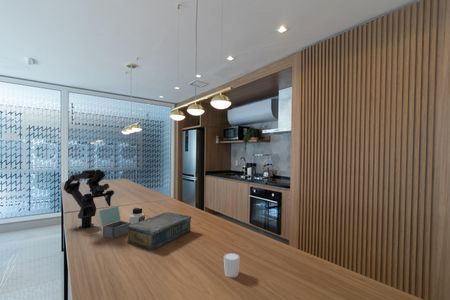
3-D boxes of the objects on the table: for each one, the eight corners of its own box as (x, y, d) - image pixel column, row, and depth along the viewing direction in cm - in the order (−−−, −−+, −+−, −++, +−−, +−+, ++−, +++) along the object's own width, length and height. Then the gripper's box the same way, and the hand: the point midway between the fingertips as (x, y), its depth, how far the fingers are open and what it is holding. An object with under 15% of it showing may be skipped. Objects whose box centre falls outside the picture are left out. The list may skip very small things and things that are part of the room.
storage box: (102, 236, 128) (103, 226, 128) (120, 230, 138) (120, 220, 139) (112, 239, 124) (113, 228, 124) (130, 232, 134) (130, 222, 135)
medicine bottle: (138, 228, 143) (139, 209, 143) (129, 227, 144) (129, 209, 144) (144, 224, 150) (145, 207, 150) (135, 223, 151) (135, 206, 151)
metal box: (192, 231, 138) (192, 215, 138) (153, 251, 109) (153, 231, 109) (167, 226, 148) (167, 211, 148) (125, 243, 119) (125, 225, 119)
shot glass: (222, 269, 92) (222, 252, 92) (238, 268, 93) (238, 252, 93) (224, 278, 86) (224, 260, 86) (241, 277, 86) (241, 260, 86)
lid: (102, 225, 128) (101, 226, 128) (120, 220, 139) (119, 220, 139) (99, 210, 129) (99, 210, 130) (118, 206, 140) (117, 206, 141)
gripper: (85, 181, 130) (93, 203, 125) (114, 178, 146) (122, 198, 141) (77, 191, 134) (85, 213, 129) (106, 187, 150) (114, 206, 146)
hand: (102, 207), depth 136 cm, fingers open, 9 cm apart
